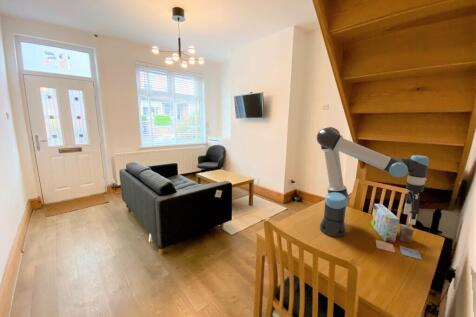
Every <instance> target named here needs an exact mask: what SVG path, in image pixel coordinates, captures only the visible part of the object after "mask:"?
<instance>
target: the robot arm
mask: <svg viewBox="0 0 476 317" xmlns="http://www.w3.org/2000/svg"><path fill="white" fill-rule="evenodd" d="M316 140H317V143H318V144H319V145H320V149H321V151H323V152H324V159H325V165H326V170H327V178H328V185H329V186H328V187H327V194H326V196H325V199H324V209H323V210H324V211H323V218H322V219H321V222H320V224H319V230H320V231H321V232H322V233H323V234H324V235H327V236H329V237H332V238H333V237H335V238H343V237H345V236H346V235H347V228H346V224H345V218H346V217H345V216H346V209H347V207H348V204H349V200H350V195H349V193H348V188H347V186H346V185H345V184H344V178H343V172H342V171H343V170H342V166H341V165H342V164H341V159H340V158H341V157H340V152H341V153H343V154H345V155H347V156H350V157H352V158H353V159H354V158H355V159H357V160H360V161H361V162H364V163H366V164H368V165H370V166H372V167H375V168H378V169H380V170H382V171H384V172H386V173H389V175H391V176H392V177H394V178H403V177H405V176H406V175H407V178H406V186H405V189H406V190H407V193H406V196H405V198H404V201H405V203H404V210H403V214H404V215H408V216H409V217H408V218H409V219H408V225H410V224H411V225H413V226H415V225H416V222H417V217H418V215H419V214H420V199H421V196H420V194H419V193H423V192H424V190H425V184H426V181H427V180H428V179H427V173H428V169H429V165H430V164H429V163H430V162H429V161H430V158H429V156H424V155H421V154H420V155H415V154H413V155H411V157H410V158H403V157H394V156H387V155H385V154H383V153H380V152H377V151H375V150H372V149H370V148H368V147H365V146H364V145H361V144H358V143H356V142H353V141H351V140H348V139H347V138H346V139H345V138H344V136H343V135H341V133H340V131H339V130H338V129H337V128H336V127H333V126H330V127H329V126H327V127H324V128H322V129H320V130H319V131H318V132H317V134H316Z"/></svg>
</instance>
